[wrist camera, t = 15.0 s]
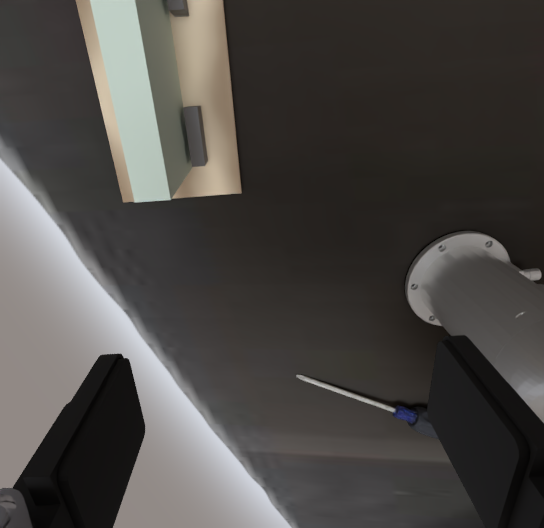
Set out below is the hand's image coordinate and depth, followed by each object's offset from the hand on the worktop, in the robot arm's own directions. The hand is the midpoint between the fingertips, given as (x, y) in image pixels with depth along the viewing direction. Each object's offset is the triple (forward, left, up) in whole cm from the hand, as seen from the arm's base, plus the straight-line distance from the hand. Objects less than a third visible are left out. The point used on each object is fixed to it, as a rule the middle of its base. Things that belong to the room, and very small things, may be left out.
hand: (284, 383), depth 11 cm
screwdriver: (-15, +33, -31) cm, 48 cm away
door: (+7, -11, -29) cm, 32 cm away
